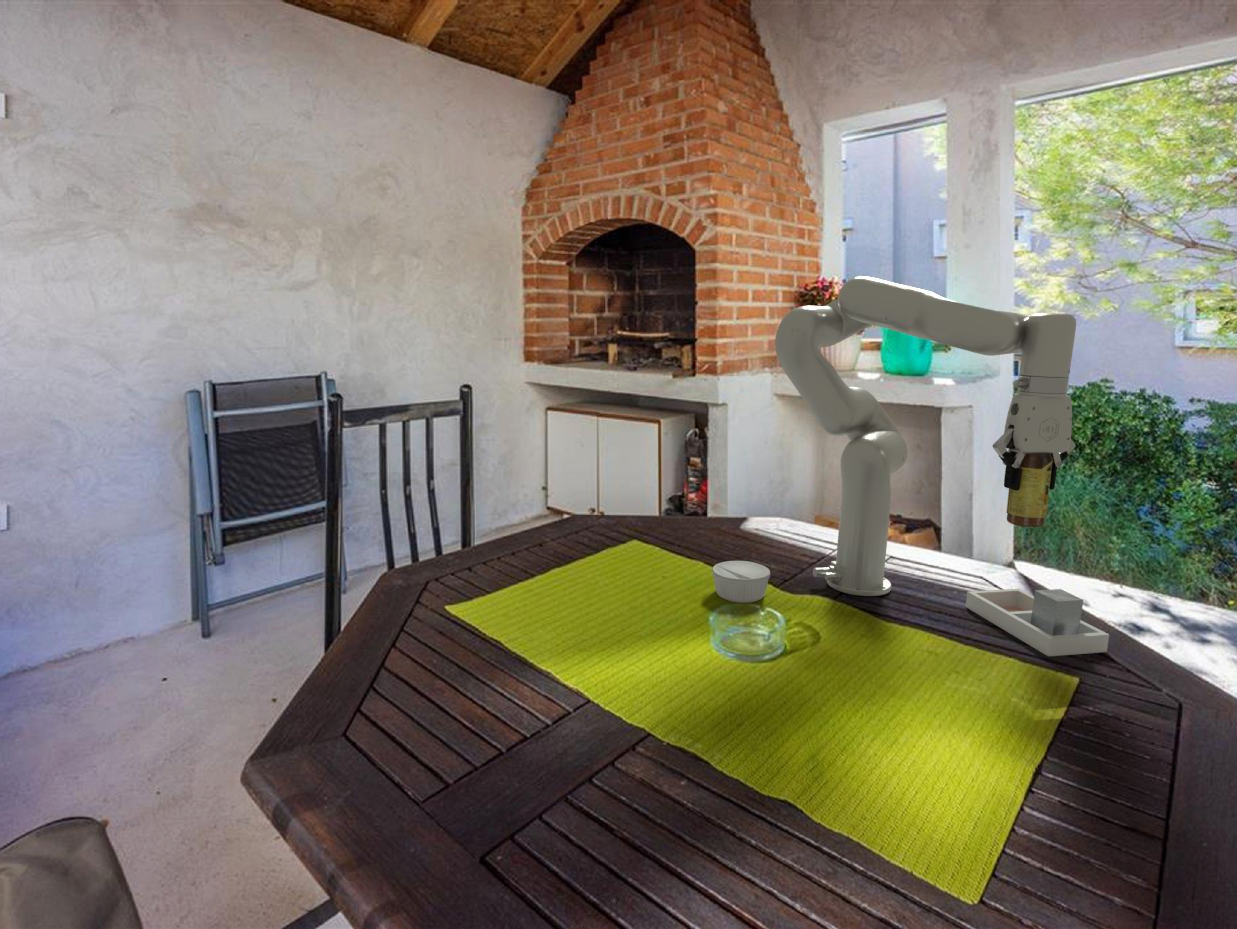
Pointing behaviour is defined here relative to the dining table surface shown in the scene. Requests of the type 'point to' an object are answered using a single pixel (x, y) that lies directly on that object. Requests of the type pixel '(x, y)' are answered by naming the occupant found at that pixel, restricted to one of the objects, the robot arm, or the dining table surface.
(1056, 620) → the grey metal block
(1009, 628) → the divided bay tray
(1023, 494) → the sauce bottle
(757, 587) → the ramekin
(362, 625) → the dining table surface
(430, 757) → the dining table surface
